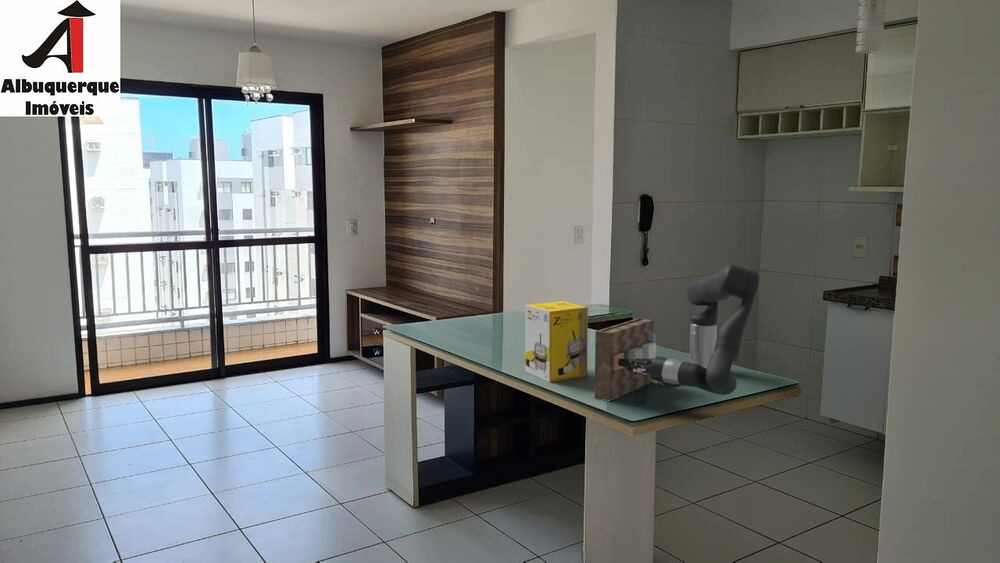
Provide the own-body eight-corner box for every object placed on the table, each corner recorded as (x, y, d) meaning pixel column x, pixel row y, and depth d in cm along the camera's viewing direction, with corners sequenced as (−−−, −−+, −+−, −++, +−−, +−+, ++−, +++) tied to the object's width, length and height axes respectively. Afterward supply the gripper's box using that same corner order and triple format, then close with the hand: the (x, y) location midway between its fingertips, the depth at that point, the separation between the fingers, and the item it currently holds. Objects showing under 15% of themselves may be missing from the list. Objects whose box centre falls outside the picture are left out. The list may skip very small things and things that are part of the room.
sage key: (630, 361, 238) (631, 346, 237) (642, 363, 235) (643, 348, 234) (623, 364, 234) (623, 349, 233) (635, 366, 231) (635, 351, 230)
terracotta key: (611, 365, 232) (611, 350, 232) (623, 367, 229) (623, 352, 229) (603, 368, 229) (603, 353, 228) (615, 370, 226) (615, 355, 225)
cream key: (644, 355, 245) (644, 341, 244) (655, 357, 242) (656, 343, 241) (636, 358, 241) (637, 344, 240) (648, 360, 238) (649, 346, 237)
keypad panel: (638, 379, 250) (639, 317, 247) (652, 382, 247) (653, 319, 243) (594, 398, 229) (595, 331, 226) (609, 401, 225) (610, 333, 222)
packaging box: (587, 375, 255) (587, 307, 252) (549, 382, 247) (549, 311, 244) (561, 365, 269) (561, 300, 266) (525, 371, 261) (524, 304, 258)
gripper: (679, 354, 221) (630, 346, 232) (658, 363, 211) (608, 354, 222) (678, 377, 222) (629, 368, 233) (658, 387, 212) (608, 377, 223)
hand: (619, 361), depth 227 cm, fingers closed
